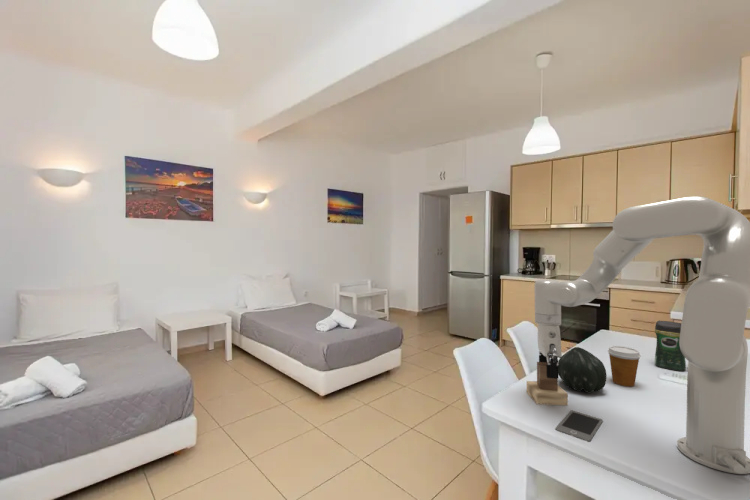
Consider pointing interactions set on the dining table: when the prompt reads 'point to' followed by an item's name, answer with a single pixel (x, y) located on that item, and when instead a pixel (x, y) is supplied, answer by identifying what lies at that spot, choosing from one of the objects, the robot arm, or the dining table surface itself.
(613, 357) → the disposable coffee cup
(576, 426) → the smartphone
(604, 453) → the dining table surface
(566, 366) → the squash
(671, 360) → the coffee jar
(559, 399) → the oak base block
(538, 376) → the walnut block
